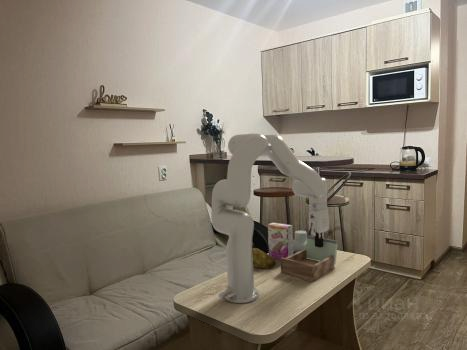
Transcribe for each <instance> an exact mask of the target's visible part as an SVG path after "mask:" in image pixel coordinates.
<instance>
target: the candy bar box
mask: <svg viewBox="0 0 467 350" xmlns="http://www.w3.org/2000/svg"><path fill="white" fill-rule="evenodd" d="M293 233H294V232H293V225H291V224H285V223H279V222H271V223H268V224H267V240H268V241H267V242H268V243H267V244H268V255H270V256H272V257H273V258H274V259H275V260H279V261H281V260H280V258H281V257H283V258H286V257H289V256H291V255H293V254H294V251H293V240H294V237H293V235H294V234H293Z"/></svg>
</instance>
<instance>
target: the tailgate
mask: <svg viewBox="0 0 467 350" xmlns="http://www.w3.org/2000/svg"><path fill="white" fill-rule="evenodd" d="M338 242H339V241H338V240H333V239H328V238H324V237H323V247H321V248H320V247H315V238H314V236H311V235H307V245H306V250H307V258H308V259H313V260H317V261H322V260H324V259H326V258H327V257H329V256H331V255H333V256H334V265H336V263H337V253H338Z"/></svg>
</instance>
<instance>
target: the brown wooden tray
mask: <svg viewBox="0 0 467 350" xmlns="http://www.w3.org/2000/svg"><path fill="white" fill-rule="evenodd" d="M279 261H280V273H281V274H284V275H287V276H290V277H294V278H297V279H300V280H304V281H307V282H311V283H313V282H315V281H316V280H318V279H320V277H322V276H324V275H325V274H327V273H329V272H331V271H332V270H333V269H335V264H334V256H333V255H331V256H329V257H327V258H326V259H324V260H322V261H318V260H314V259H310V258H307V250H306V249H304V250H301V251H299V252H295V253H293V255H291V256H289V257H286V258H283V257H281V258H280V260H279Z"/></svg>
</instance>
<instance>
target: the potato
mask: <svg viewBox="0 0 467 350" xmlns="http://www.w3.org/2000/svg"><path fill="white" fill-rule="evenodd" d="M252 255H253V266H255V267H257V268H259V269H271V268H273V267H274V266H276V259H274V258H273V257H272V256H270V255H269V253H266V252H265V251H263V250H261V249H259V248H256V247H252Z"/></svg>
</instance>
